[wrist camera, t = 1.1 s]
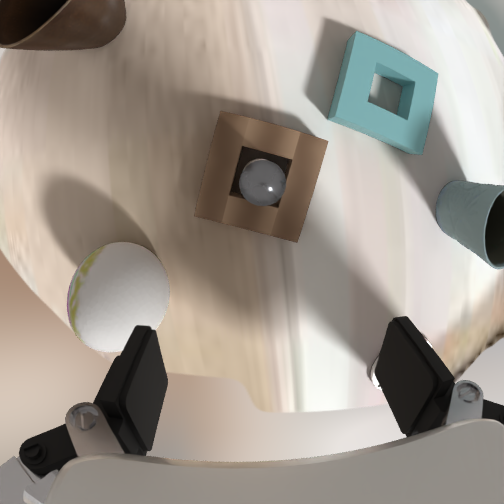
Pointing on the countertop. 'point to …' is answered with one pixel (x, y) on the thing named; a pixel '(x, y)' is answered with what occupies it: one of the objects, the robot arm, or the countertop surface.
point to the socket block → (376, 118)
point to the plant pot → (60, 23)
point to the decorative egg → (117, 295)
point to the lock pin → (262, 182)
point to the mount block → (225, 165)
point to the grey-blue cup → (474, 218)
